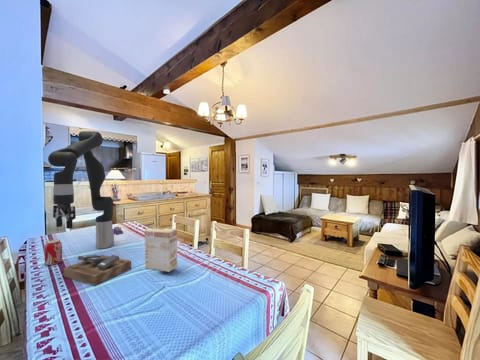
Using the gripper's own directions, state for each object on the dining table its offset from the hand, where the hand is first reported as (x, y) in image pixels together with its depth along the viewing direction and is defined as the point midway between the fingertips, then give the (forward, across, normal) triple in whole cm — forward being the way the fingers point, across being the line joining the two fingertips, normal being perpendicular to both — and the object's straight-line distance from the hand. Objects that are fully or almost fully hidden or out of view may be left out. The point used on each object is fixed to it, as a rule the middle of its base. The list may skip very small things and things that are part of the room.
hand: (64, 227), depth 100 cm
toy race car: (+23, +42, -51) cm, 70 cm away
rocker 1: (+16, -6, -7) cm, 19 cm away
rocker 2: (+16, -14, -8) cm, 22 cm away
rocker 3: (+16, -20, -8) cm, 27 cm away
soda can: (+22, +20, -4) cm, 31 cm away
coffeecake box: (+23, -37, -24) cm, 50 cm away
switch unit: (+22, -14, -8) cm, 27 cm away
